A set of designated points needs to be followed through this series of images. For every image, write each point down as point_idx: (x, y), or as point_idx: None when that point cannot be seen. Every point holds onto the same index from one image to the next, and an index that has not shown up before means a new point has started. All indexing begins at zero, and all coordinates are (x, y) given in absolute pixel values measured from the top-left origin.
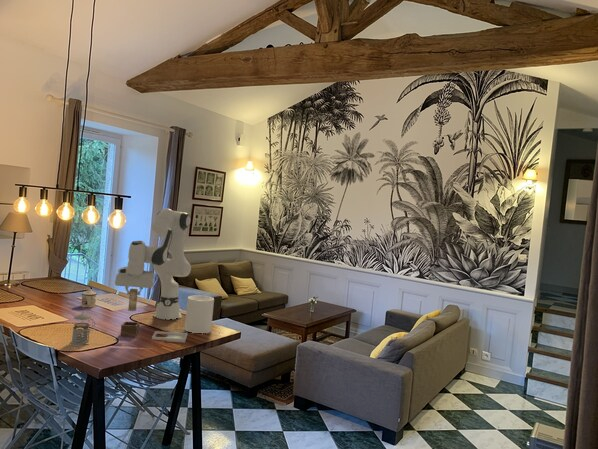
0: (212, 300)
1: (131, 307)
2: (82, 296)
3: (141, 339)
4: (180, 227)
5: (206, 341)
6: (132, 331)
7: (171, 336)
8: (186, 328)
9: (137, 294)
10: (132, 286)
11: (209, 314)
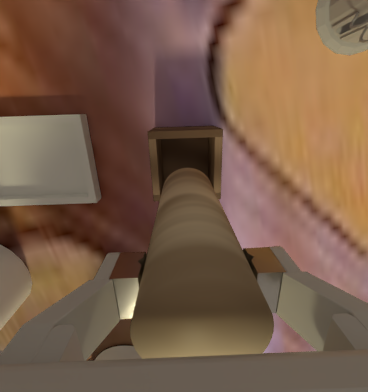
0: None
1: (188, 174)
2: None
3: (129, 123)
4: None
5: None
6: (166, 129)
7: (28, 174)
8: (5, 260)
9: (135, 253)
10: (244, 359)
11: None
